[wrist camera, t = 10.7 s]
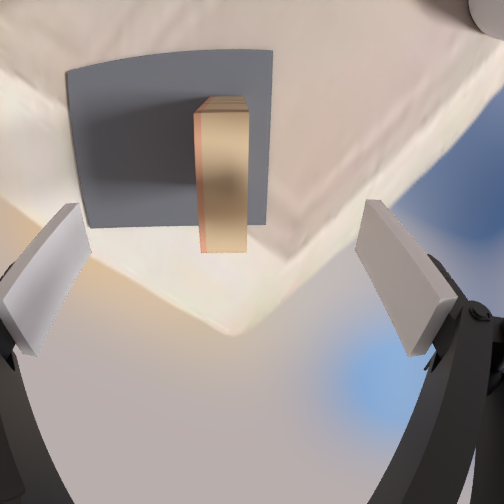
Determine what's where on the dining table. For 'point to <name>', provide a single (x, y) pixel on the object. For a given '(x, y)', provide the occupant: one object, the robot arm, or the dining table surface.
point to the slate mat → (162, 132)
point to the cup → (488, 16)
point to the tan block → (222, 173)
